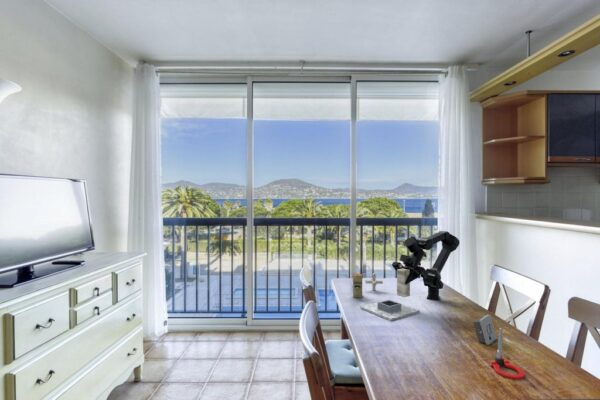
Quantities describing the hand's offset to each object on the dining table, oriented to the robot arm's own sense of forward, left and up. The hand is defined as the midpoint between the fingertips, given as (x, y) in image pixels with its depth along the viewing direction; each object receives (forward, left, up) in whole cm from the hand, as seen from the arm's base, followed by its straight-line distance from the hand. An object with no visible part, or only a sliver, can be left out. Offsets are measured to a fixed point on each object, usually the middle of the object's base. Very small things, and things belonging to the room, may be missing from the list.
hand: (401, 282), depth 170 cm
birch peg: (-1, +1, -7) cm, 7 cm away
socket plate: (+7, -5, -12) cm, 15 cm away
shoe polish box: (-8, -26, -13) cm, 30 cm away
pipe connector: (-23, -21, -13) cm, 34 cm away
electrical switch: (+24, +36, -13) cm, 45 cm away
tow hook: (+47, +42, -13) cm, 64 cm away
